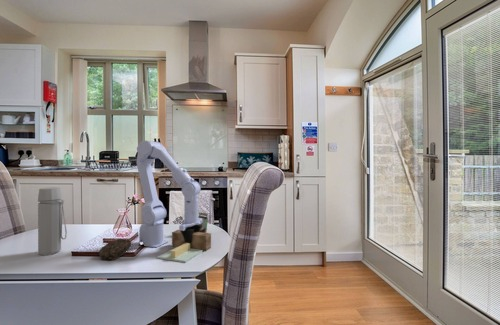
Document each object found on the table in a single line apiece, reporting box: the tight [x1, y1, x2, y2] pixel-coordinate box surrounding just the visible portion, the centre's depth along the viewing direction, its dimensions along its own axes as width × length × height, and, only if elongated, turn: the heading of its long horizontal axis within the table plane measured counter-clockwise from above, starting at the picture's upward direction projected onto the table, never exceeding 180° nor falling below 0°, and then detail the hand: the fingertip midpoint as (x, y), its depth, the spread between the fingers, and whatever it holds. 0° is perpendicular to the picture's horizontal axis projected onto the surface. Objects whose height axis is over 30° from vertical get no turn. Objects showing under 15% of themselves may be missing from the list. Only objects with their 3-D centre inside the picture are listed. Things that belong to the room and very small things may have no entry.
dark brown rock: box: [98, 238, 132, 262], centre depth 100 cm, size 12×10×5 cm
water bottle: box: [37, 186, 68, 256], centre depth 102 cm, size 9×8×25 cm
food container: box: [198, 212, 210, 233], centre depth 129 cm, size 12×6×10 cm, turn 74°
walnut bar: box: [171, 229, 212, 252], centre depth 109 cm, size 16×4×6 cm, turn 71°
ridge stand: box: [157, 243, 204, 263], centre depth 100 cm, size 12×12×3 cm
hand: (191, 243), depth 109 cm, fingers closed on walnut bar, 4 cm apart
